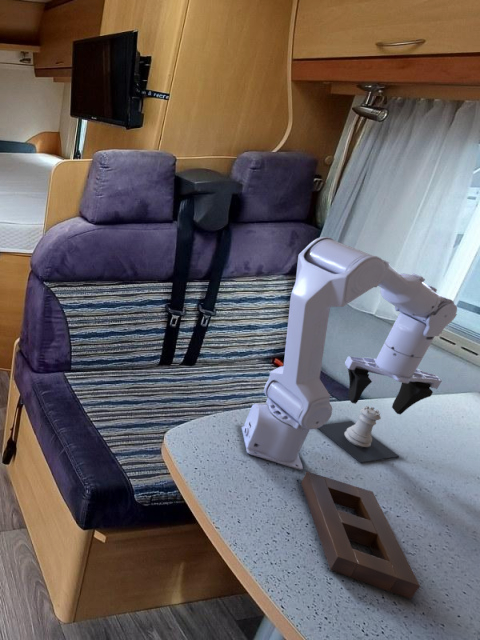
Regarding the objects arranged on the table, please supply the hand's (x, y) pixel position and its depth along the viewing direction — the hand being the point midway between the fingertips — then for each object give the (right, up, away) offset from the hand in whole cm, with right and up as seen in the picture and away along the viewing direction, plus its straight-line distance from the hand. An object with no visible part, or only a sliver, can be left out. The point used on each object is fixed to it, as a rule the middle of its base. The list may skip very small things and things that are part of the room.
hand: (373, 405), depth 93 cm
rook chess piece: (-1, -9, +3) cm, 9 cm away
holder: (-19, -16, -17) cm, 30 cm away
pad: (-1, -9, +3) cm, 9 cm away
